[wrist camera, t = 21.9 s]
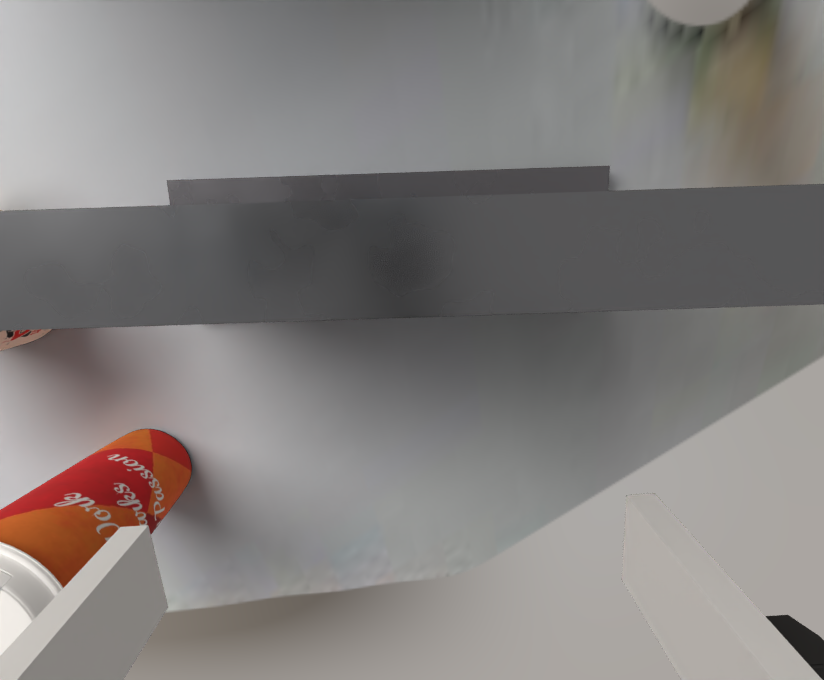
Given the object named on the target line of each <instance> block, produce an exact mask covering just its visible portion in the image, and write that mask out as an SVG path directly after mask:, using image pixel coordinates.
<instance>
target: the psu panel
mask: <svg viewBox="0 0 824 680" xmlns="http://www.w3.org/2000/svg"><path fill="white" fill-rule="evenodd" d="M609 168H610V166H591V167H561V168H530V169H500V170H470V171H439V172H409V173H378V174H348V175H318V176H287V177H257V178H227V179H196V180H167V185H168V192H169V199H170V205H168V206H137V207H107V208H76V209H46V210H15V211H0V331H7V330H38V329H69V328H100V327H131V326H162V325H193V324H224V323H255V322H286V321H317V320H348V319H379V318H410V317H441V316H472V315H503V314H534V313H565V312H596V311H627V310H658V309H690V308H721V307H752V306H783V305H814V304H824V184H808V185H777V186H747V187H716V188H686V189H655V190H625V191H608V184H609Z"/></svg>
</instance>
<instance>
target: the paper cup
mask: <svg viewBox="0 0 824 680" xmlns="http://www.w3.org/2000/svg"><path fill="white" fill-rule="evenodd" d="M191 472H192V467H191V461H190V458H189V455H188V453H187V452H186V450H185V448H184V447H183V446H182V445H181V444H180V443H179V442H178V441H177V440H176V439H175V438H173V437H172V436H170V435H169V434H167V433H164V432H162V431H158V430H154V429H140V430H136V431H133V432H131V433H128V434H126V435H125V436H123V437H121V438H119V439H117V440H116V441H114V442H112V443H110V444H109V445H107V446H105V447H104V448H102V449H100V450H99V451H97V452H95V453H93V454H92V455H90V456H88V457H87V458H85V459H83V460H82V461H80V462H79V463H77V464H75V465H74V466H72V467H70V468H69V469H67V470H65V471H64V472H62V473H60V474H59V475H57V476H55V477H54V478H52V479H50V480H49V481H47V482H46V483H44V484H42V485H41V486H39V487H37V488H36V489H34V490H32V491H31V492H29V493H27V494H26V495H24V496H23V497H21V498H19V499H18V500H16V501H14V502H13V503H11V504H9V505H8V506H6V507H5V508H3V509H1V510H0V655H1V654H2V653H3V652H4V651H5V650H6V649H7V648H8V647H9V646H10V645H11V644H12V643H13V642H14V641H15V639H16V638H17V637H18V636H19V635H20V634H21V633H22V632H23V631H24V630H25V629H26V628H27V627H28V626H29V624H30V623H31V622H32V621H33V620H34V619H35V618H36V617H37V616H38V615H39V614H40V613H41V612H42V611H43V609H44V608H45V607H46V606H47V605H48V604H49V603H50V602H51V601H52V600H53V599H54V598H55V597H56V596H57V595H58V593H59V592H60V591H61V590H62V589H63V588H64V587H65V586H66V585H67V584H68V583H69V582H70V581H71V580H72V578H73V577H74V576H75V575H76V574H77V573H78V572H79V571H80V570H81V569H82V568H83V567H84V566H85V565H86V563H87V562H88V561H89V560H90V559H91V558H92V557H93V556H94V555H95V554H96V553H97V552H98V551H99V550H100V549H101V547H102V546H103V545H104V544H105V543H106V542H107V541H108V540H109V539H110V538H111V537H112V536H113V535H114V534H115V532H116V531H117V530H118V529H119V528H120V527H128V526H144V525H148V526H149V530H150V534H152V533H153V531H154V530H155V529H156V527H157V526H158V525H159V523H160V522H161V521H162V519H163V518H164V517H165V515H166V514H167V513H168V511H169V510H170V509H171V507H172V506H173V505H174V503H175V502H176V501H177V499H178V498H179V497H180V495H181V494H182V492H183V491H184V489H185V488H186V486H187V484H188V482H189V480H190V477H191Z"/></svg>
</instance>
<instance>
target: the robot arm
mask: <svg viewBox="0 0 824 680" xmlns="http://www.w3.org/2000/svg"><path fill="white" fill-rule="evenodd" d="M624 530H625V531H624V547H623V564H622V581H623V583H624V584H625V586H626V588H627V589H628V591H629V593H630V594H631V596H632V598H633V599H634V601H635V603H636V605H637V606H638V608H639V610H640V611H641V613H642V615H643V616H644V618H645V620H646V622H647V623H648V625H649V627H650V628H651V630H652V632H653V633H654V635H655V637H656V638H657V640H658V642H659V643H660V645H661V647H662V649H663V650H664V652H665V654H666V655H667V657H668V659H669V660H670V662H671V664H672V665H673V667H674V669H675V670H676V672H677V674H678V675H679V677H680V679H681V680H824V640H823V639H822V638H821V637H820V636H818V635H817V634H815V633H814V632H812V631H811V630H809V629H808V628H806V627H805V626H803V625H802V624H800V623H799V622H797V621H796V620H795V619H793V618H792V617H790V616H789V615H779V616H765V615H764V614H763V613H762V612H761V611H760V610H759V609H758V608H757V607H756V606H755V604H754V603H753V602H752V601H751V600H750V599H749V598H748V597H747V596H746V594H745V593H744V592H743V591H742V590H741V589H740V588H739V587H738V585H737V584H736V583H735V582H734V581H733V580H732V579H731V578H730V577H729V575H728V574H727V573H726V572H725V571H724V570H723V569H722V568H721V567H720V565H718V563H717V562H716V561H715V560H714V559H713V558H712V557H711V556H710V554H709V553H708V552H707V551H706V550H705V549H704V548H703V546H701V544H700V543H699V542H698V541H697V540H696V539H695V538H694V536H693V535H692V534H691V533H690V532H689V531H688V530H687V529H686V528H685V526H684V525H683V524H682V523H681V522H680V521H679V520H678V519H677V518H676V516H675V515H674V514H673V513H672V512H671V511H670V510H669V509H668V508H667V506H666V505H665V504H664V503H663V502H662V501H661V500H660V499H659V498H658V497H657V495H655V494H654V493H652V494H651V493H650V494H636V495H626V512H625V529H624ZM167 609H168V604H167V600H166V596H165V592H164V588H163V584H162V580H161V575H160V571H159V567H158V563H157V559H156V555H155V551H154V547H153V543H152V538H151V534H150V530H149V526H148V525H144V526H128V527H120V528H119V529H118V530H117V531H116V532H115V534H114V535H113V536H112V537H111V538H110V539H109V540H108V541H107V542H106V543H105V544H104V545H103V546H102V547H101V549H100V550H99V551H98V552H97V553H96V554H95V555H94V556H93V557H92V558H91V559H90V560H89V561H88V562H87V563H86V565H85V566H84V567H83V568H82V569H81V570H80V571H79V572H78V573H77V574H76V575H75V576H74V577H73V578H72V580H71V581H70V582H69V583H68V584H67V585H66V586H65V587H64V588H63V589H62V590H61V591H60V592H59V593H58V595H57V596H56V597H55V598H54V599H53V600H52V601H51V602H50V603H49V604H48V605H47V606H46V607H45V608H44V609H43V611H42V612H41V613H40V614H39V615H38V616H37V617H36V618H35V619H34V620H33V621H32V622H31V623H30V624H29V626H28V627H27V628H26V629H25V630H24V631H23V632H22V633H21V634H20V635H19V636H18V637H17V638H16V639H15V641H14V642H13V643H12V644H11V645H10V646H9V647H8V648H7V649H6V650H5V651H4V652H3V653H2V654H1V655H0V680H124V678H125V677H126V675H127V673H128V672H129V670H130V668H131V667H132V665H133V664H134V662H135V660H136V659H137V657H138V655H139V653H140V652H141V651H142V649H143V647H144V646H145V644H146V643H147V641H148V639H149V638H150V636H151V634H152V633H153V631H154V629H155V628H156V626H157V625H158V623H159V621H160V620H161V618H162V617H163V615H164V613H165V612H166V610H167Z"/></svg>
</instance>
